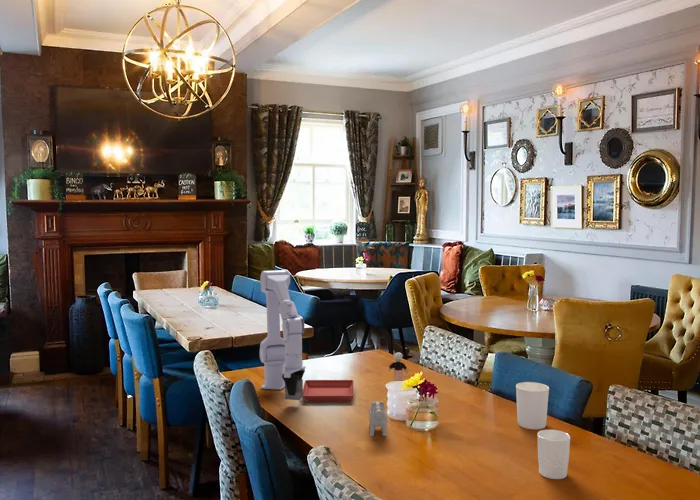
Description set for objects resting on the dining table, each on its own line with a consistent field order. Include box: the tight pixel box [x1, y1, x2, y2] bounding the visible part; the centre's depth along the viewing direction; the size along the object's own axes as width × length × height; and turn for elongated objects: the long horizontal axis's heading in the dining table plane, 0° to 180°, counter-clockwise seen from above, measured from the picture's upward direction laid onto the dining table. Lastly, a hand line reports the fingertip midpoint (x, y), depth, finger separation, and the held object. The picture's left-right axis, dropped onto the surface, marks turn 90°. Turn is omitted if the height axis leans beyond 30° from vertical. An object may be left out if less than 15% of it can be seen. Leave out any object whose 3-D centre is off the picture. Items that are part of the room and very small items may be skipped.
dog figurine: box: [368, 400, 388, 437], centre depth 187 cm, size 5×13×11 cm, turn 2°
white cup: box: [536, 429, 571, 480], centre depth 158 cm, size 8×8×10 cm
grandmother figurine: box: [387, 352, 409, 382], centre depth 234 cm, size 8×4×13 cm, turn 84°
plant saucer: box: [302, 379, 355, 403], centre depth 223 cm, size 18×18×3 cm
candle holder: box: [515, 381, 550, 430], centre depth 193 cm, size 10×10×12 cm
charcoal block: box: [284, 378, 304, 401], centre depth 211 cm, size 4×5×6 cm
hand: (293, 393), depth 211 cm, fingers closed on charcoal block, 4 cm apart
